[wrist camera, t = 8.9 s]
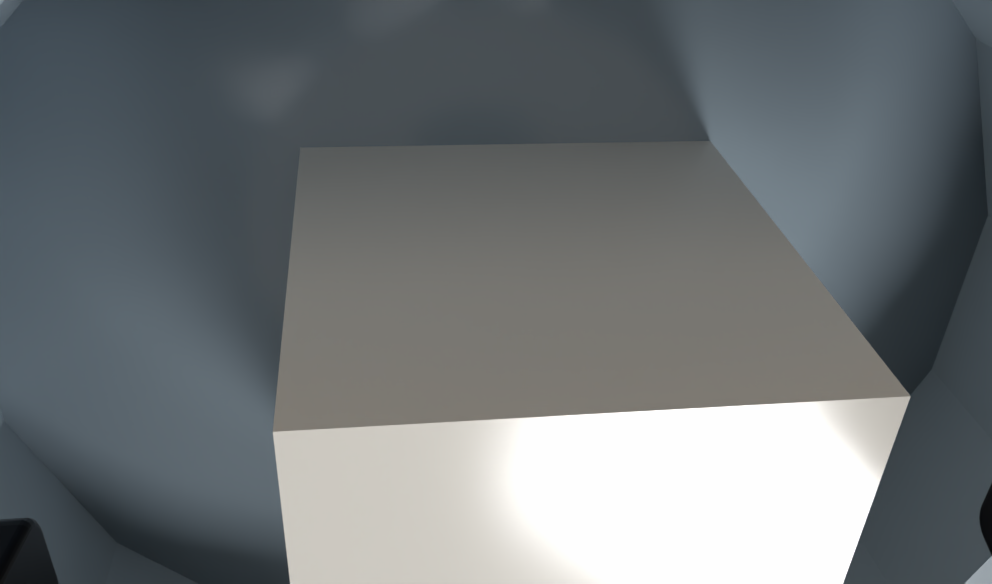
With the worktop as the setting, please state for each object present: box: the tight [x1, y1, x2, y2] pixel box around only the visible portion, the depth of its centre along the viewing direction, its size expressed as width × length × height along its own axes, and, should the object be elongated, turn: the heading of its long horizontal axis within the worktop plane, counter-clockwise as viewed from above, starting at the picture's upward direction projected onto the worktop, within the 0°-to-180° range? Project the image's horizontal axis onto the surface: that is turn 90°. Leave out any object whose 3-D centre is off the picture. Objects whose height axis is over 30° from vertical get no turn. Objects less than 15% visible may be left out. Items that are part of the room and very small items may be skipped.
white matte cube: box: [273, 141, 911, 584], centre depth 10 cm, size 4×4×4 cm
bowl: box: [0, 0, 992, 584], centre depth 11 cm, size 14×14×4 cm
